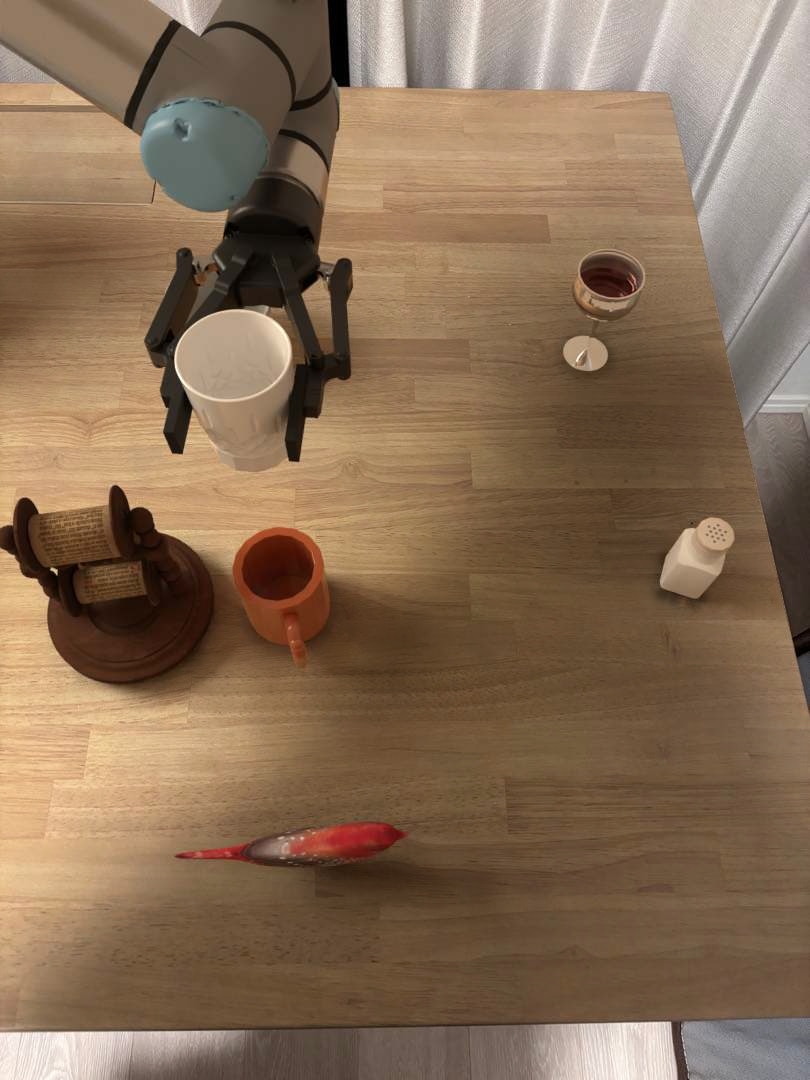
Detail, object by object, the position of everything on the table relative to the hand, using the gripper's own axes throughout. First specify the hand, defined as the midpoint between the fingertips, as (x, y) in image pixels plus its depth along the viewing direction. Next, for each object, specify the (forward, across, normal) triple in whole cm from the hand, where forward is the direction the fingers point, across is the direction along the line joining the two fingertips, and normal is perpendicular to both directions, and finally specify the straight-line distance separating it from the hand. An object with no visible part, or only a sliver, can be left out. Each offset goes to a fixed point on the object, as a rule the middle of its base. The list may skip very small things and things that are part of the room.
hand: (232, 447), depth 57 cm
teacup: (-27, +10, -24) cm, 37 cm away
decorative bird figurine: (+24, -5, -24) cm, 34 cm away
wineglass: (-30, -30, -24) cm, 49 cm away
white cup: (-5, 0, -6) cm, 8 cm away
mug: (+4, -2, -24) cm, 24 cm away
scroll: (+4, +12, -24) cm, 27 cm away
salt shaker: (-4, -39, -24) cm, 46 cm away
